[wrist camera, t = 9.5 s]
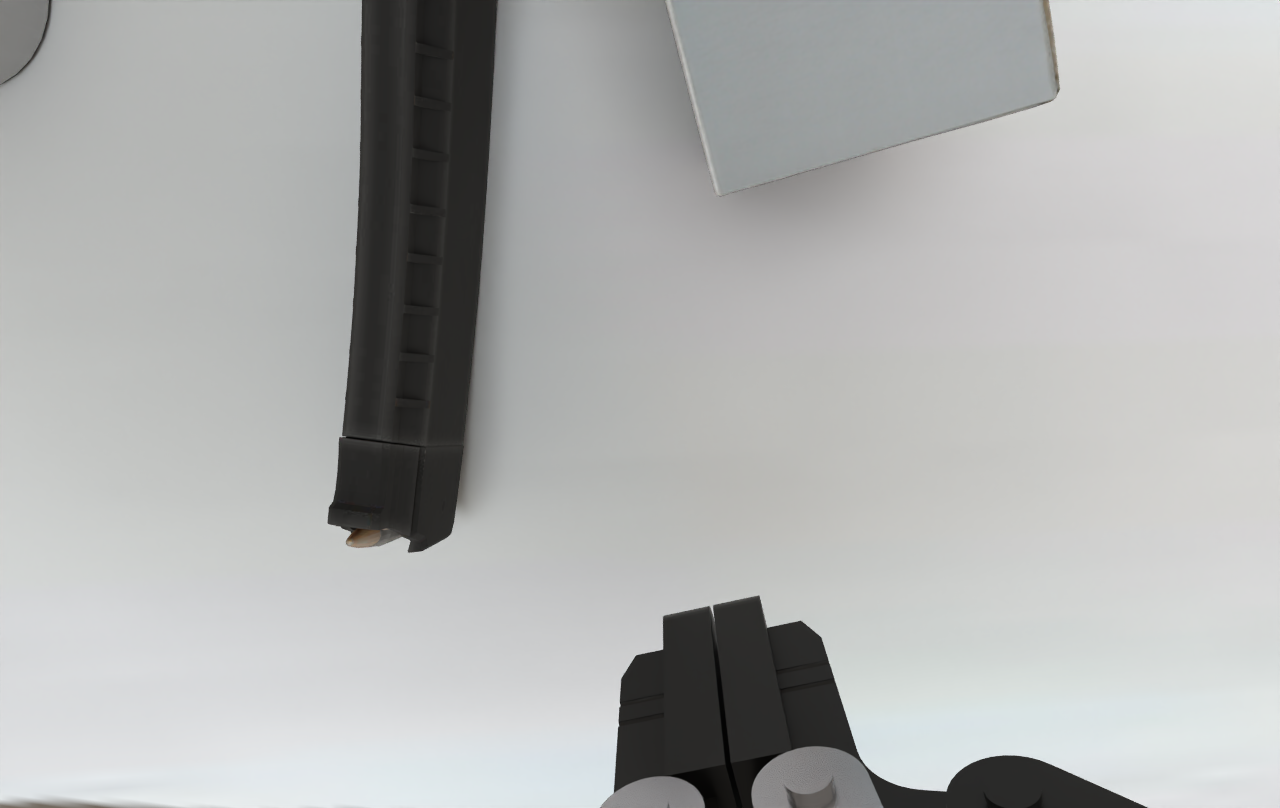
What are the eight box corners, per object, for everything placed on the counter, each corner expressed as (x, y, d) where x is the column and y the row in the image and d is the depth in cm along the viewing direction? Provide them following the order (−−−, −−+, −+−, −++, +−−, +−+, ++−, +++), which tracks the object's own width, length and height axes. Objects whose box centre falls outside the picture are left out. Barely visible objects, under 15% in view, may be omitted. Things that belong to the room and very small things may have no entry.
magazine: (345, -445, 25) (205, 602, 25) (458, -434, 25) (319, 618, 25) (475, -99, 43) (393, 527, 42) (542, -92, 42) (460, 536, 42)
